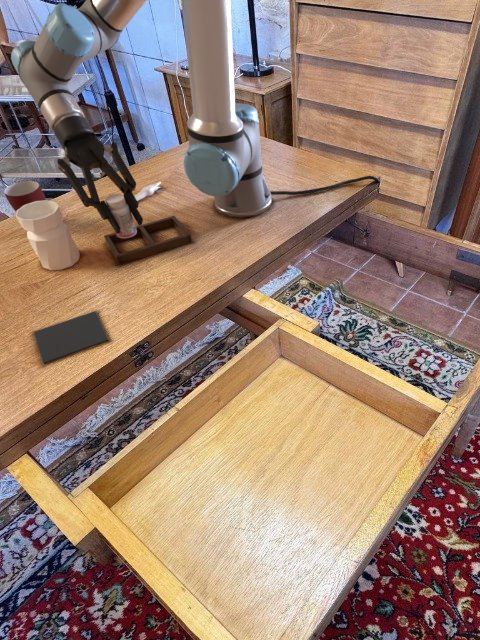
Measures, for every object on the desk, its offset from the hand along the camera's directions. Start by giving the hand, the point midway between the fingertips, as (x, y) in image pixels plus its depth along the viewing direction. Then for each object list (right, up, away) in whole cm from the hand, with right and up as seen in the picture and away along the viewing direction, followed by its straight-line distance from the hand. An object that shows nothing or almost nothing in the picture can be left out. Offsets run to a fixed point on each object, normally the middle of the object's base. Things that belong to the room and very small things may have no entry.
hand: (129, 226), depth 99 cm
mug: (-29, +6, +15) cm, 33 cm away
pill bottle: (-2, 0, +5) cm, 5 cm away
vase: (-18, -6, +5) cm, 19 cm away
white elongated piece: (-6, +17, +24) cm, 30 cm away
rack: (+1, 0, +9) cm, 9 cm away
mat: (-7, -27, -13) cm, 30 cm away
